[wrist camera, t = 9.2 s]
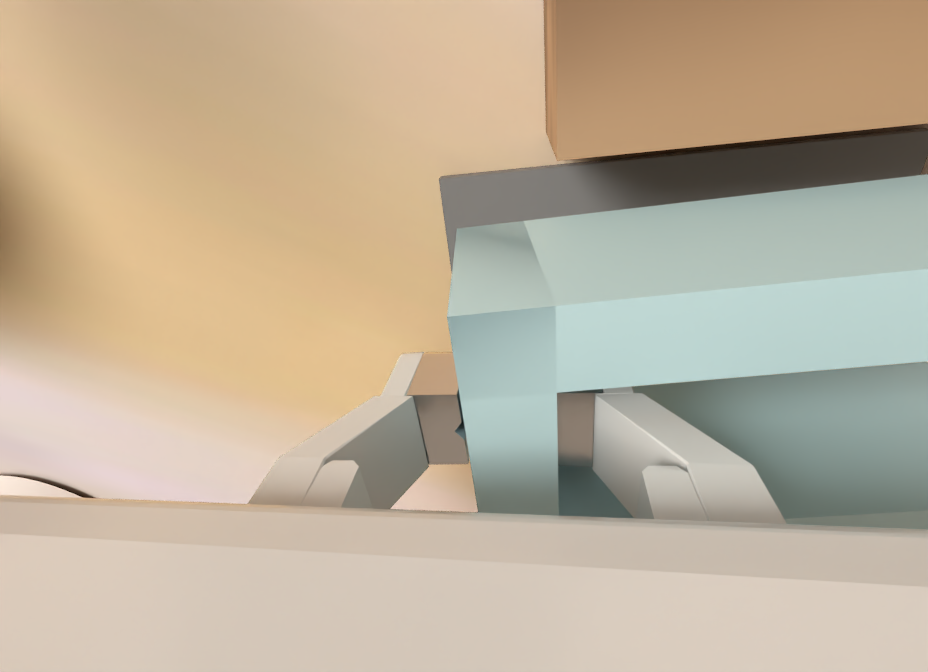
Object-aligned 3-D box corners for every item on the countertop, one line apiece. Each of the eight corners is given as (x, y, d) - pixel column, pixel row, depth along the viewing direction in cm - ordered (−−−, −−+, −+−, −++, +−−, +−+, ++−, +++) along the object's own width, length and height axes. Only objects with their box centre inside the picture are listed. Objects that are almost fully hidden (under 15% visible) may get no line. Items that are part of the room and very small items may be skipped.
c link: (484, 438, 12) (489, 580, 9) (456, 228, 9) (447, 317, 6) (903, 406, 11) (1096, 548, 8) (1027, 162, 8) (1429, 218, 5)
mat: (844, 340, 16) (853, 347, 15) (464, 351, 18) (463, 357, 18) (922, 128, 12) (937, 130, 12) (441, 176, 15) (439, 179, 14)
